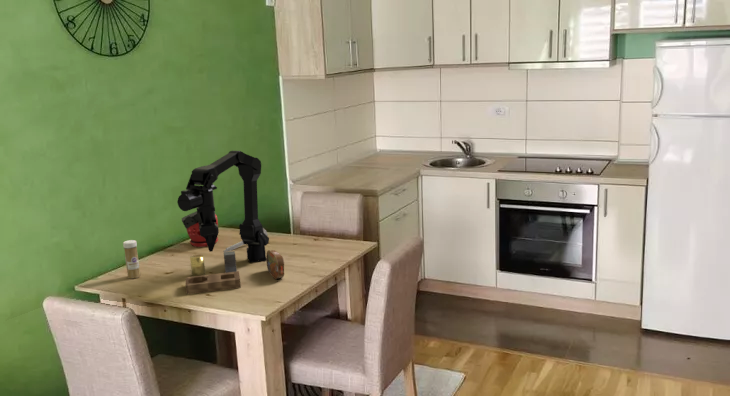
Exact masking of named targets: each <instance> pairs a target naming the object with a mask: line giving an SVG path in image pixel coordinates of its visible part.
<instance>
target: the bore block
mask: <svg viewBox="0 0 730 396" xmlns="http://www.w3.org/2000/svg"><path fill="white" fill-rule="evenodd" d="M241 286H242V284H241V277H240V271H239V270H237V271H236V272H227V273H226V272H220V273H211V274H206V275H202V276H193V277H192V276H186V277H185V294H186V295H191V294H199V293H208V292H215V291H224V290H232V289H241Z"/></svg>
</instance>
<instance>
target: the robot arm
mask: <svg viewBox="0 0 730 396" xmlns="http://www.w3.org/2000/svg"><path fill="white" fill-rule="evenodd" d="M232 167H236V168H237V169H238V174H239V176H240V178H241V180H242V182H243V183H242V184H243V204H244V205H243V207H244V208H243V209H244V219H243V221H242V223H239V226H238V228H239V232H238V235H240V239H241V241H243V243H244V245H247V247H246V259H247V260H248V261H249V263H257V262H265V261H266V256H267V253H266V246H267V245H268V244H269V242H270V237H269V236H267V235H266V234H265V233H264V232H263V228H264V227H263V224H262V223H261V221H260V219H259V210H258V206H259V205H258V204H259V203H258V180H259V178H260V176H261V174H262V162H261V160H260V158H258V157H254V156H252V155H250V154H246V153H245V152H243V151H241V150H230V151H229V152H228V153H227V154H225V155H223V156H222V157H220V158H218V159H216V160H215V161H213V162H212V163H209V164H207V165H203V166H199V167H195V168H194V169H192V171H191V174H190V177H189V179H188V182H187V184H186V187H185V189H184V190H181V191H180V195H179V196H178V198H177V206H178V208H179V209H180V210H181V211H182V212H188V211H191V210H195V209H196V211H194V212H192V213H189V214H187V215H185V216H183V217H181V222H182V224H183V225H184V228H185V229H186V230H187V228H189V227H190V226H192V225H194V224H196V223H198V224H199V231H200V236H202V237H204V238H205V240H206V243H207V246H206V247H207V248H208V252H211V253H212V252H213V250H214V248H215V245H216V243H217V242H216V239H217V237H218V236H219V232H220V231H219V224H218V225H217V224H216V216H215V214H216V206H215V199H214V191H215V190H217V189H218V187H217V186H216V185H215V182H217V180H218V179H219V176H220V175H221V174H223V173H224V172H226V171H228V170H229V169H231V168H232ZM215 242H216V243H215ZM266 262H267V261H266Z"/></svg>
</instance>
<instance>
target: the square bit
mask: <svg viewBox="0 0 730 396" xmlns="http://www.w3.org/2000/svg"><path fill="white" fill-rule="evenodd" d="M223 259H224V271H225V272H224V273H227V272H236V271H238V270H237V259H236V252H235V250H231V251H226V252H223Z"/></svg>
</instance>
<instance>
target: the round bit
mask: <svg viewBox="0 0 730 396" xmlns="http://www.w3.org/2000/svg"><path fill="white" fill-rule="evenodd" d="M189 260H190V261H189V262H190V271H191V277H193V276H202V275H207V274H206V266H205V257H204V255H203V254H195V255H191V256H190V257H189Z"/></svg>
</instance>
